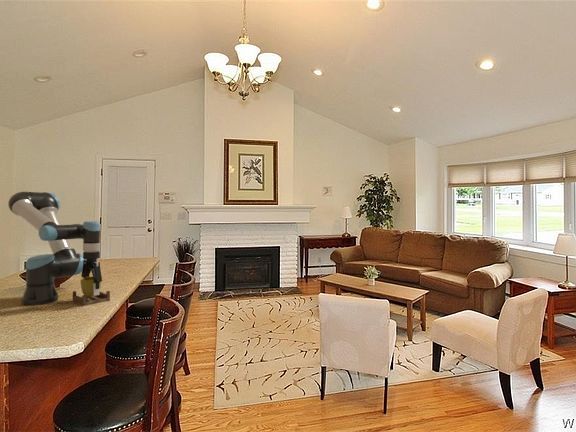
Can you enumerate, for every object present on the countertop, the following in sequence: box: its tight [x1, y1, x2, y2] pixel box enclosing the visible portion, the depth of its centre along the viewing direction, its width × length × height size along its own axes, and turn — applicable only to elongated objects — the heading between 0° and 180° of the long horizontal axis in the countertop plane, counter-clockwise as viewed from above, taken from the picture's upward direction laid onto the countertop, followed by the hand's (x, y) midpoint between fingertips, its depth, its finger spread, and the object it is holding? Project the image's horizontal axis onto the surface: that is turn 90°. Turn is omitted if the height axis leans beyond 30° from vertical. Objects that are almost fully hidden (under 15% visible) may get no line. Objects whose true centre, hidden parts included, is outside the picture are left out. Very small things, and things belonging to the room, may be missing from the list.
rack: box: [72, 290, 111, 307], centre depth 179 cm, size 13×13×5 cm
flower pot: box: [80, 276, 102, 297], centre depth 179 cm, size 9×9×9 cm
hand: (91, 293), depth 179 cm, fingers closed on flower pot, 11 cm apart
